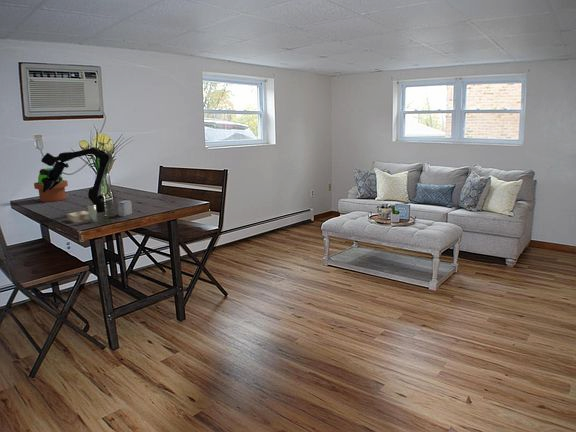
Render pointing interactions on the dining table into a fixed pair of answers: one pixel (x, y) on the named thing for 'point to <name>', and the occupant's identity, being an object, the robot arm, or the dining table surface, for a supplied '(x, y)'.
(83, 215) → the beige shallow bowl
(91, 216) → the tea tin
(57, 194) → the potted cactus
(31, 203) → the dining table surface
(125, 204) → the medicine box
